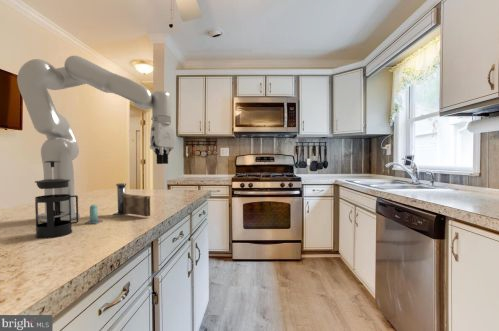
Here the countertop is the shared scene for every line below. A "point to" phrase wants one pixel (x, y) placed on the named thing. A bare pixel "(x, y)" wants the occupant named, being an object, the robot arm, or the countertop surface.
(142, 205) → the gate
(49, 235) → the french press
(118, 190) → the gate post
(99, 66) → the robot arm
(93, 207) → the latch post
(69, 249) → the countertop surface
